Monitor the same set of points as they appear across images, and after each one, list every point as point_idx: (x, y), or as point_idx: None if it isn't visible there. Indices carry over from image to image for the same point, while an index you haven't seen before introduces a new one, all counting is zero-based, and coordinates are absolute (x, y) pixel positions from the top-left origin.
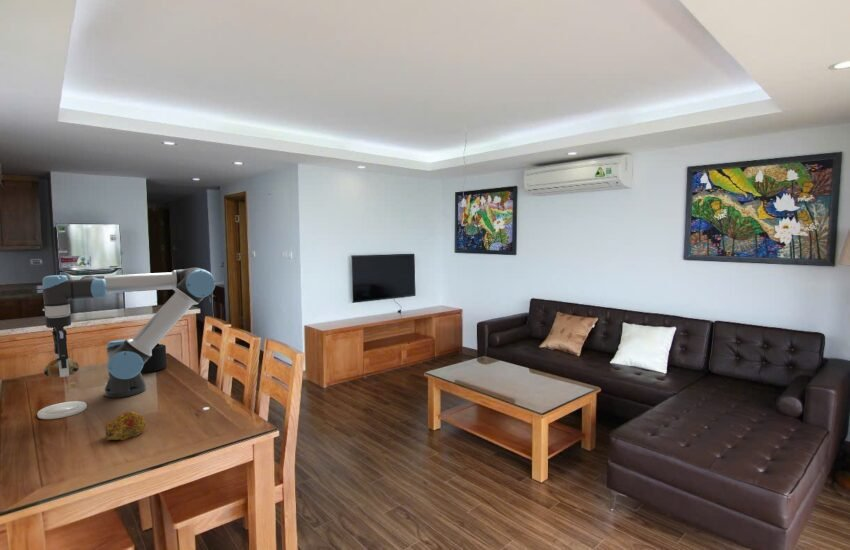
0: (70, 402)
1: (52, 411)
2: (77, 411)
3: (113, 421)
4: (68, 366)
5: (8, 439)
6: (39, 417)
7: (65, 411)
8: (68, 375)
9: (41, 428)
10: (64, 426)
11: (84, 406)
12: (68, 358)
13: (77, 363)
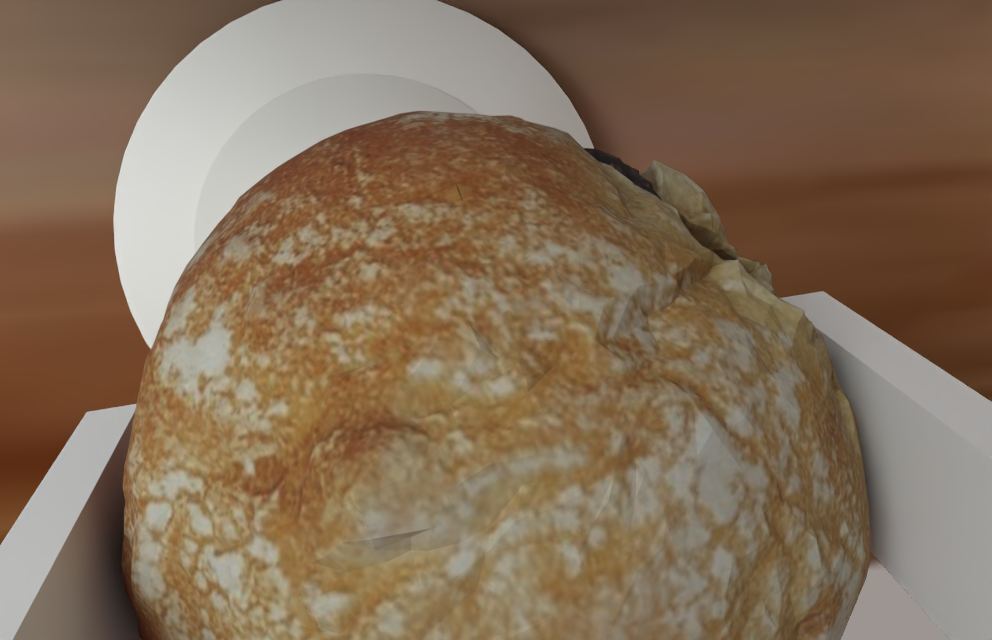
0: (165, 176)
1: None
2: (560, 90)
3: None
4: (830, 381)
5: (873, 559)
6: None
7: None
8: (824, 305)
9: None
10: (886, 196)
11: (452, 13)
12: (526, 491)
13: (517, 163)
